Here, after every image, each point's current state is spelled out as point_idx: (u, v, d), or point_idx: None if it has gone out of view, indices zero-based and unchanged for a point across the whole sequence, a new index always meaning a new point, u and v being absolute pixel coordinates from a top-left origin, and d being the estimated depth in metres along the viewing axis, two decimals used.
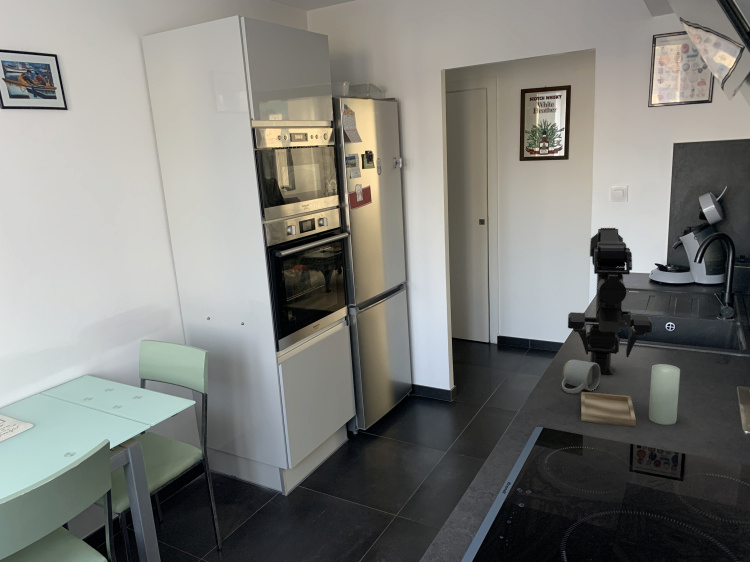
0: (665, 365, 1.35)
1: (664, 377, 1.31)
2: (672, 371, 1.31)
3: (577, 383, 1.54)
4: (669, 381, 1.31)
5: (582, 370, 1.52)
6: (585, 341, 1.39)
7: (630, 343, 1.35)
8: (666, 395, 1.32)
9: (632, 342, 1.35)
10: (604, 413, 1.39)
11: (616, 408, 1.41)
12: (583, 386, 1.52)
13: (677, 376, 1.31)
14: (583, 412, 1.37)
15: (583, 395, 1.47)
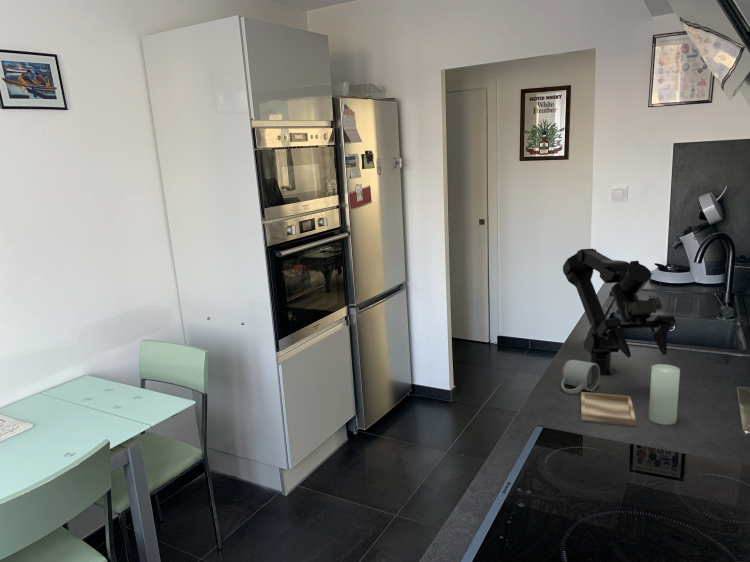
0: (665, 365, 1.35)
1: (664, 377, 1.31)
2: (672, 371, 1.31)
3: (577, 383, 1.54)
4: (669, 381, 1.31)
5: (582, 370, 1.52)
6: (624, 341, 1.42)
7: (663, 338, 1.42)
8: (666, 395, 1.32)
9: (664, 337, 1.42)
10: (604, 413, 1.39)
11: (616, 408, 1.41)
12: (582, 387, 1.52)
13: (677, 376, 1.31)
14: (583, 412, 1.37)
15: (583, 395, 1.47)
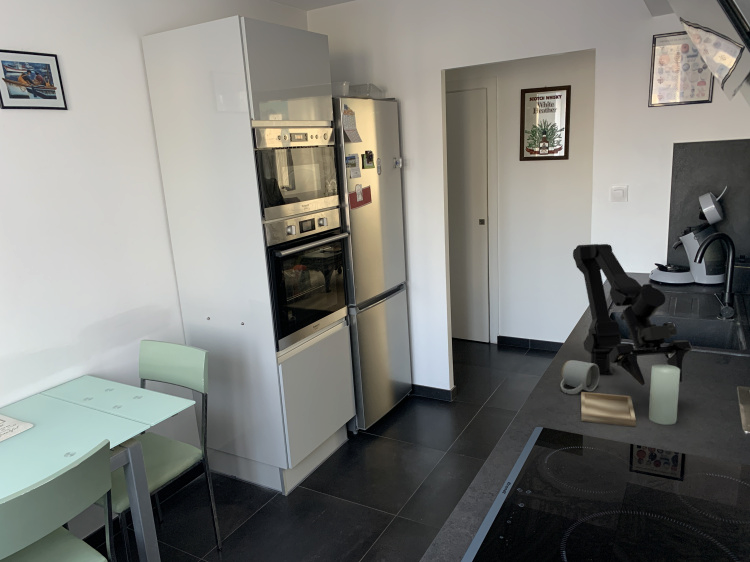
0: (665, 365, 1.35)
1: (664, 377, 1.31)
2: (672, 371, 1.31)
3: (576, 384, 1.53)
4: (669, 381, 1.31)
5: (581, 371, 1.52)
6: (638, 368, 1.36)
7: (678, 365, 1.37)
8: (666, 395, 1.32)
9: (679, 363, 1.37)
10: (604, 413, 1.39)
11: (616, 408, 1.41)
12: (582, 387, 1.52)
13: (677, 376, 1.31)
14: (583, 412, 1.37)
15: (583, 395, 1.47)
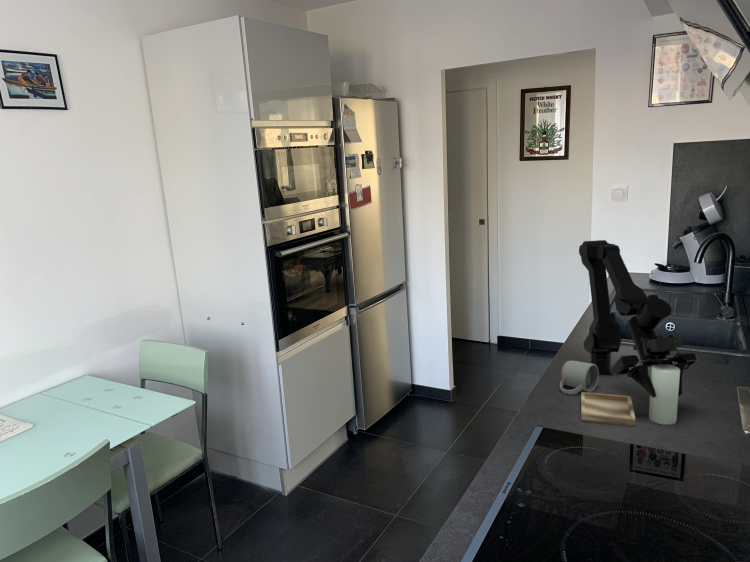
0: (665, 365, 1.35)
1: (664, 377, 1.31)
2: (672, 371, 1.31)
3: (575, 384, 1.53)
4: (669, 381, 1.31)
5: (581, 371, 1.52)
6: (649, 380, 1.34)
7: None
8: (666, 395, 1.32)
9: (680, 376, 1.35)
10: (604, 413, 1.39)
11: (616, 408, 1.41)
12: (581, 388, 1.51)
13: (677, 376, 1.31)
14: (583, 412, 1.37)
15: (583, 395, 1.47)
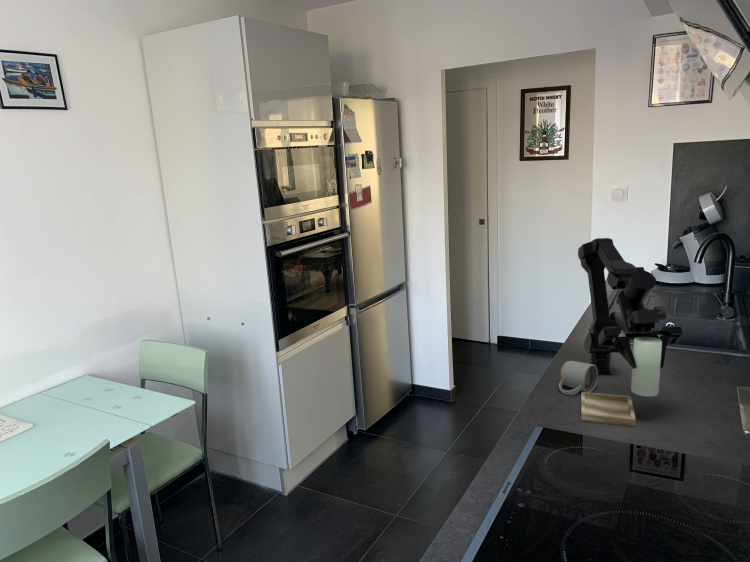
0: (649, 337, 1.35)
1: (644, 348, 1.31)
2: (652, 343, 1.31)
3: (574, 385, 1.53)
4: (649, 353, 1.31)
5: (580, 372, 1.51)
6: (630, 352, 1.34)
7: (661, 350, 1.34)
8: (646, 367, 1.32)
9: (663, 349, 1.34)
10: (604, 413, 1.39)
11: (616, 408, 1.41)
12: (580, 388, 1.51)
13: (658, 348, 1.31)
14: (583, 412, 1.37)
15: (583, 395, 1.47)
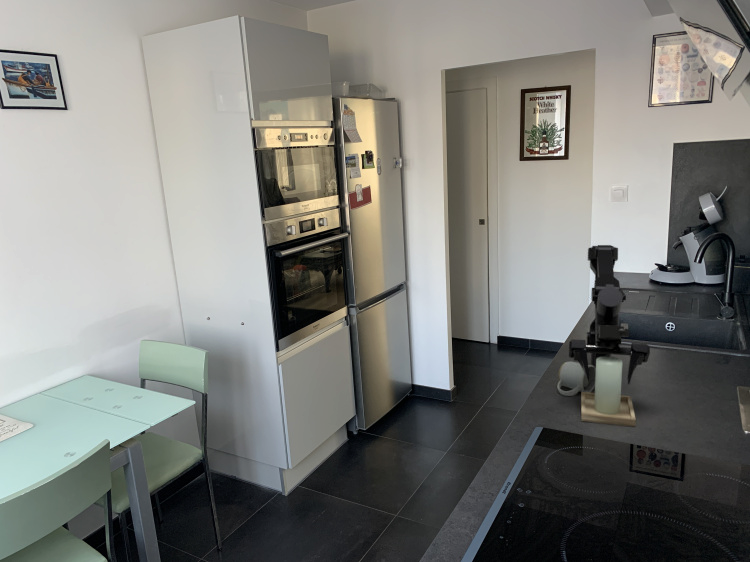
0: (613, 358, 1.39)
1: (601, 367, 1.37)
2: (611, 363, 1.36)
3: (573, 385, 1.52)
4: (606, 373, 1.36)
5: (578, 372, 1.51)
6: (586, 364, 1.40)
7: (630, 366, 1.37)
8: (604, 386, 1.37)
9: (632, 365, 1.37)
10: None
11: None
12: (579, 389, 1.51)
13: (615, 369, 1.35)
14: (583, 412, 1.37)
15: (583, 395, 1.47)
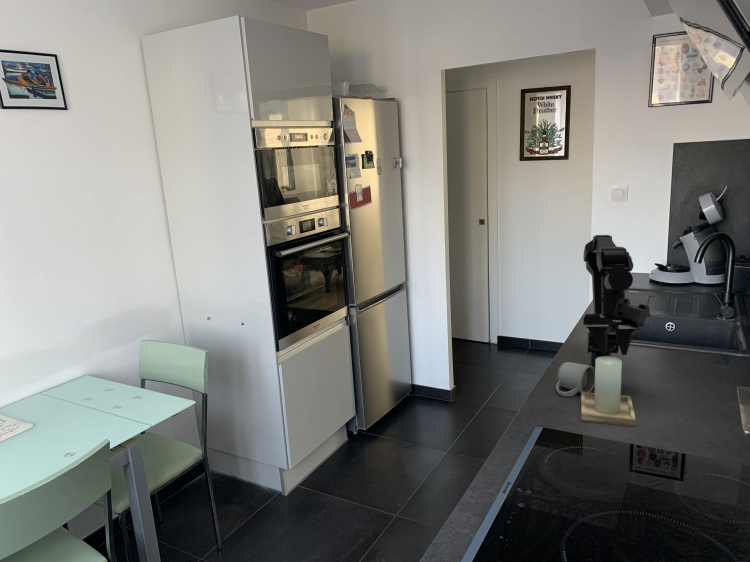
0: (612, 358, 1.40)
1: (601, 367, 1.37)
2: (610, 363, 1.36)
3: (572, 386, 1.52)
4: (606, 373, 1.36)
5: (577, 373, 1.51)
6: (606, 339, 1.42)
7: (629, 340, 1.48)
8: (603, 386, 1.37)
9: (630, 339, 1.48)
10: None
11: None
12: (577, 389, 1.50)
13: (615, 368, 1.35)
14: (583, 412, 1.37)
15: (583, 395, 1.47)
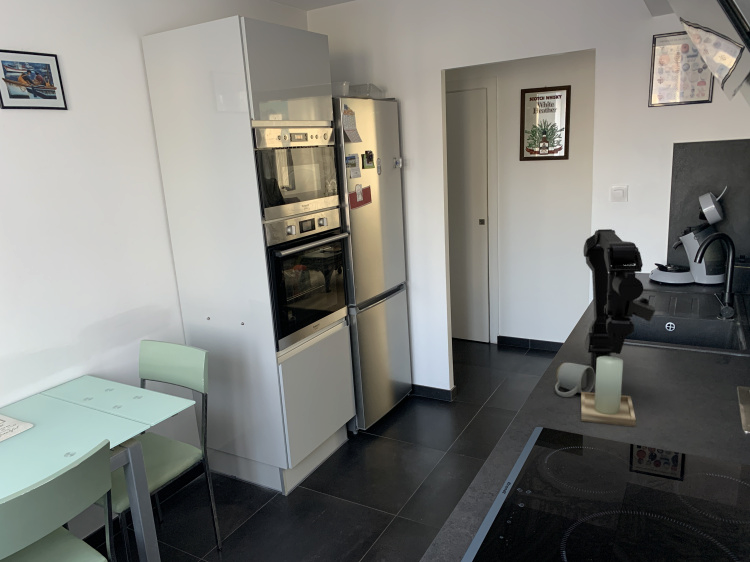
0: (613, 357, 1.40)
1: (602, 366, 1.37)
2: (611, 362, 1.36)
3: (571, 386, 1.52)
4: (607, 372, 1.36)
5: (576, 373, 1.50)
6: None
7: None
8: (604, 385, 1.37)
9: None
10: None
11: None
12: (576, 390, 1.50)
13: (616, 368, 1.36)
14: (583, 412, 1.37)
15: (583, 395, 1.47)
